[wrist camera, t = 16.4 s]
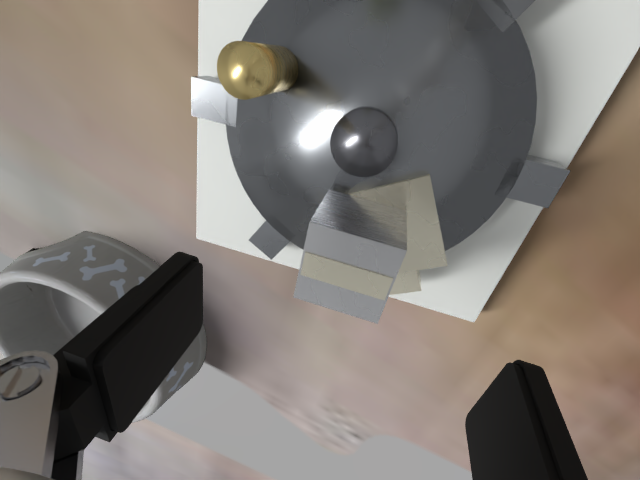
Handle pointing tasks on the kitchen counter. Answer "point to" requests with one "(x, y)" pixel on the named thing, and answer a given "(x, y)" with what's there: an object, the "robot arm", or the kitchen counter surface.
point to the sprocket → (382, 117)
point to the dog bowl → (79, 301)
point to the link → (352, 255)
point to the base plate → (548, 142)
